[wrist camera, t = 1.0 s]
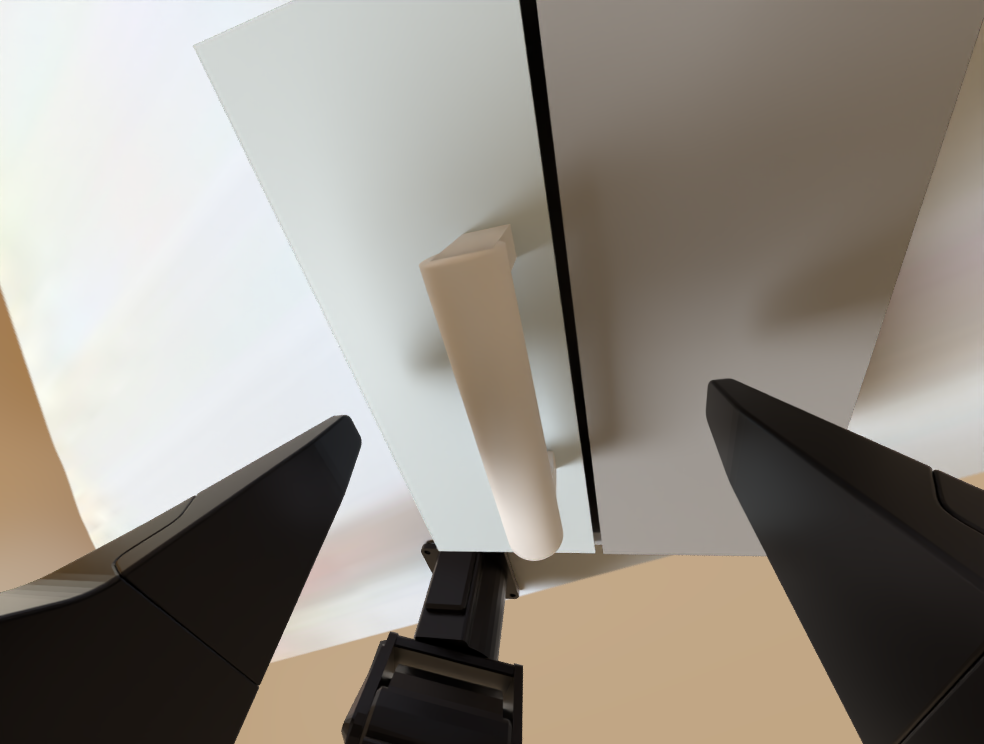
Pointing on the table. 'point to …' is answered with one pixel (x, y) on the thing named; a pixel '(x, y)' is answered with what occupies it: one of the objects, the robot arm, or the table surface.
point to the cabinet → (727, 222)
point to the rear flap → (424, 246)
